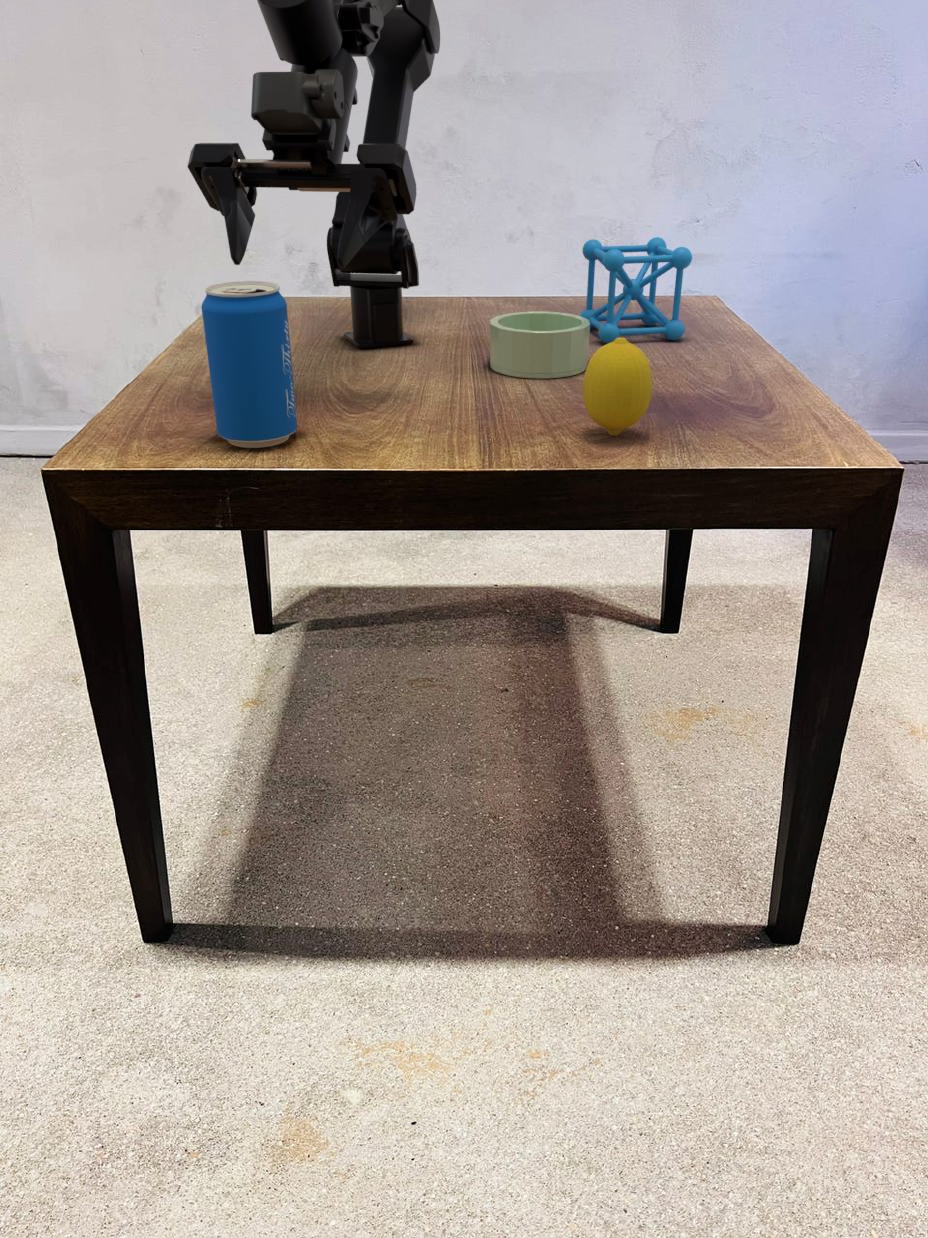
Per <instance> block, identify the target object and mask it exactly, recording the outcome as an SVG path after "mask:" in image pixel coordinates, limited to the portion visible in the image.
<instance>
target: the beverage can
mask: <svg viewBox="0 0 928 1238" xmlns="http://www.w3.org/2000/svg"><path fill="white" fill-rule="evenodd" d="M280 288H281V287H280V285H279V284H278V283H275V282H270V281H260V280H239V281H238V280H237V281H225V282H219V283H214V284H211V285H208V286H206V287H205V288H204V292H205V294H206V295H205V297H204V299H203V301H202V303H201V315H202V322H203V329H204V330H203V331H204V337H205V345H206V351H207V352H206V353H207V361H208V368H209V377H210V384H211V392H212V400H213V408H214V416H215V424H216V432H217V434H218V436H219V437H220V438H222V439H225V440H227V442H228V443H229V444H230V445H232V446H234V447H239V448H244V449H261V448H269V447H273V446H278V445H280V444H283V443H285V442H287V440H289V438H290V436H292V435H293V434H294V433H295V432H296V431H297V430H298V420H297V419H298V418H297V408H296V407H297V406H296V396H295V385H294V383H295V382H294V373H293V362H292V351H291V340H290V327H289V317H288V305H287V304H288V303H287V301H286V299H285V298H284V296H283V295H282V294H281V293H280Z"/></svg>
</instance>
